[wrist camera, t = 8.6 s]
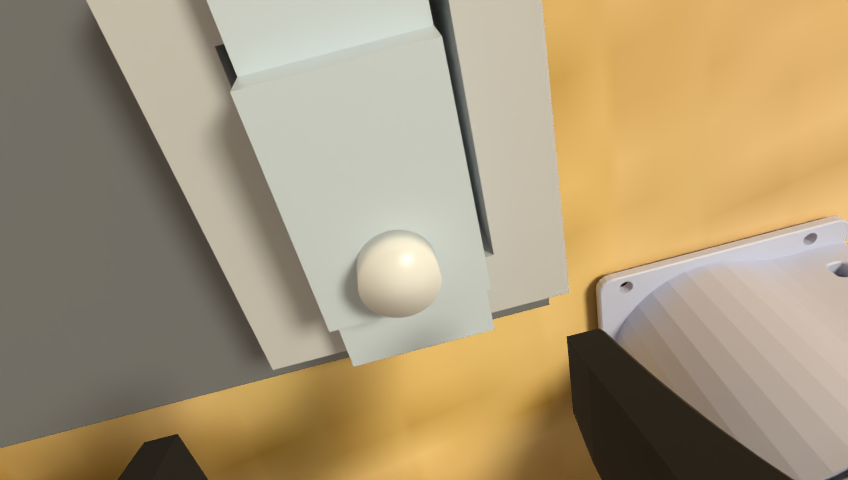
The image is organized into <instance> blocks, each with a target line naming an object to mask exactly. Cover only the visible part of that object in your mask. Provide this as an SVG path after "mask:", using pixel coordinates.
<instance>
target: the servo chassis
mask: <svg viewBox="0 0 848 480" xmlns="http://www.w3.org/2000/svg"><path fill="white" fill-rule="evenodd" d="M429 5H430V10H431V15H432V20H433V25H434V26H435V28H436V29H437V30H438V32H439V33H440V34H441V36H442V38H443V43H444V49H445V54H446V59H447V64H448V69H449V74H450V79H451V85H452V90H453V95H454V100H455V105H456V110H457V115H458V120H459V126H460V131H461V136H462V141H463V146H464V151H465V156H466V161H467V167H468V172H469V177H470V182H471V187H472V192H473V197H474V203H475V208H476V213H477V218H478V223H479V228H480V233H481V238H482V244H483V249H484V254H485V259H486V264H487V269H488V274H489V280H490V285H491V289H490V290H487V294H488V299H489V304H490V309H491V314H492V319H496V318H500V317H504V316H508V315H511V314H515V313H519V312H523V311H527V310H530V309H534V308H538V307H542V306H546V305H549V298H550V297H554V296H558V295H562V294H566V293H569V284H568V273H567V262H566V252H565V241H564V230H563V220H562V209H561V198H560V188H559V177H558V166H557V156H556V145H555V134H554V124H553V113H552V102H551V92H550V81H549V70H548V60H547V49H546V38H545V28H544V17H543V6H542V0H429ZM236 79H237V75H236V72H235V70H234V67H233V65H232V62H231V60H230V57H229V55H228V52H227V50H226V47H225V45H224V42H223V40H222V37H221V35H220V33H219V30H218V28H217V25H216V23H215V20H214V18H213V15H212V13H211V10H210V8H209V5H208V3H207V0H0V448H3V447H7V446H11V445H14V444H18V443H22V442H26V441H30V440H33V439H37V438H41V437H45V436H49V435H53V434H56V433H60V432H64V431H68V430H72V429H76V428H79V427H83V426H87V425H91V424H95V423H98V422H102V421H106V420H110V419H114V418H118V417H121V416H125V415H129V414H133V413H137V412H141V411H144V410H148V409H152V408H156V407H160V406H163V405H167V404H171V403H175V402H179V401H183V400H186V399H190V398H194V397H198V396H202V395H206V394H209V393H213V392H217V391H221V390H225V389H228V388H232V387H236V386H240V385H244V384H248V383H251V382H255V381H259V380H263V379H267V378H271V377H274V376H278V375H282V374H286V373H290V372H293V371H297V370H301V369H305V368H309V367H313V366H316V365H320V364H324V363H328V362H332V361H336V360H339V359H343V358H347V357H350V356H349V354H348V351H347V349H346V346H345V344H344V341H343V339H342V336H341V334H340V331H339V330H336V331H332V332H329V330H328V327H327V325H326V323H325V320H324V318H323V315H322V313H321V310H320V308H319V306H318V303H317V301H316V298H315V296H314V294H313V291H312V289H311V286H310V284H309V282H308V279H307V277H306V274H305V272H304V270H303V267H302V265H301V262H300V260H299V257H298V255H297V253H296V250H295V248H294V245H293V243H292V241H291V238H290V236H289V233H288V231H287V229H286V226H285V224H284V221H283V219H282V216H281V214H280V212H279V209H278V207H277V204H276V202H275V200H274V197H273V195H272V192H271V190H270V188H269V185H268V183H267V180H266V178H265V175H264V173H263V171H262V168H261V166H260V163H259V161H258V159H257V156H256V154H255V151H254V149H253V147H252V144H251V142H250V139H249V137H248V134H247V132H246V130H245V127H244V125H243V122H242V120H241V118H240V115H239V113H238V110H237V108H236V106H235V103H234V101H233V98H232V96H231V93H230V91H231V89H232V87H233V85H234V83H235V81H236Z"/></svg>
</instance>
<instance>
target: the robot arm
mask: <svg viewBox="0 0 848 480" xmlns="http://www.w3.org/2000/svg"><path fill="white" fill-rule="evenodd" d="M847 233H848V222H847V221H846V220H844V219H843V218H841V217H839V216H831V217H827V218H823V219H819V220H816V221H812V222H808V223H804V224H800V225H796V226H793V227H789V228H785V229H781V230H777V231H774V232H770V233H766V234H762V235H758V236H754V237H751V238H747V239H743V240H739V241H735V242H731V243H728V244H724V245H720V246H716V247H712V248H709V249H705V250H701V251H697V252H693V253H689V254H686V255H682V256H678V257H674V258H670V259H666V260H663V261H659V262H655V263H651V264H647V265H643V266H640V267H636V268H632V269H628V270H624V271H621V272H617V273H613V274H609V275H606V276H604V277H603V278H601V279H600V280H599V282H598V283H597V286H596V297H597V313H598V329H595V330H591V331H587V332H583V333H579V334H575V335H571V336H567V344H568V356H569V368H570V380H571V391H572V403H573V413H574V415H575V418H576V420H577V423H578V425H579V428H580V431H581V433H582V436H583V438H584V441H585V443H586V446H587V448H588V451H589V453H590V456H591V458H592V461H593V463H594V465H595V467H596V469H597V471H598V473H599V475H600V477H601V479H602V480H848V243H846V238H847ZM807 235H808V236H807ZM806 236H807V237H806ZM805 237H806V238H805ZM624 282H627V283H626V285H624V286H622V287H620V285H621V284H622V283H624ZM118 480H208V479H207V477H206V476H205V474H204V473H203V471H202V470H201V468H200V467H199V465H198V464H197V462H196V461H195V459H194V458H193V456H192V455H191V453H190V452H189V450H188V449H187V447H186V446H185V444H184V443H183V441H182V440H181V438H180V437H179V435H178V434H176V435H172V436H168V437H164V438H160V439H156V440H152V441H148V442H144V444H143V445H142V446H141V448H140V449H139V451H138V452H137V453H136V455H135V456H134V457H133V459H132V460H131V462H130V463H129V464H128V466H127V467H126V469H125V470H124V472H123V473H122V474H121V476H120V477H119V479H118Z"/></svg>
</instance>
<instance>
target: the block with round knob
mask: <svg viewBox="0 0 848 480" xmlns="http://www.w3.org/2000/svg"><path fill="white" fill-rule="evenodd" d="M207 3H208V5H209V8H210V10H211V13H212V15H213V18H214V20H215V23H216V25H217V28H218V30H219V33H220V35H221V37H222V40H223V42H224V45H225V47H226V50H227V52H228V55H229V57H230V60H231V62H232V65H233V67H234V70H235V72H236V75H237V79H236V81H235V83H234V85H233V87H232V89H231V91H230V93H231V96H232V98H233V101H234V103H235V106H236V108H237V110H238V113H239V115H240V118H241V120H242V122H243V125H244V127H245V130H246V132H247V134H248V137H249V139H250V142H251V144H252V147H253V149H254V151H255V154H256V156H257V159H258V161H259V163H260V166H261V168H262V171H263V173H264V175H265V178H266V180H267V183H268V185H269V188H270V190H271V192H272V195H273V197H274V200H275V202H276V204H277V207H278V209H279V212H280V214H281V216H282V219H283V221H284V224H285V226H286V229H287V231H288V233H289V236H290V238H291V241H292V243H293V245H294V248H295V250H296V253H297V255H298V257H299V260H300V262H301V265H302V267H303V270H304V272H305V274H306V277H307V279H308V282H309V284H310V286H311V289H312V291H313V294H314V296H315V298H316V301H317V303H318V306H319V308H320V310H321V313H322V315H323V318H324V320H325V323H326V325H327V327H328V330H329V332H332V331H336V330H339V331H340V334H341V336H342V339H343V341H344V344H345V346H346V349H347V351H348V354H349V356H350V359H351V361H352V364H353V366H354V367H355V366H358V365H362V364H366V363H370V362H373V361H377V360H381V359H385V358H389V357H392V356H396V355H400V354H404V353H407V352H411V351H415V350H419V349H422V348H426V347H430V346H434V345H437V344H441V343H445V342H449V341H453V340H456V339H460V338H464V337H468V336H471V335H475V334H479V333H483V332H486V331H490V330H494V324H493V319H492V314H491V309H490V304H489V299H488V294H487V290H490V289H491V285H490V280H489V274H488V269H487V264H486V259H485V254H484V249H483V244H482V238H481V233H480V228H479V223H478V218H477V213H476V208H475V203H474V197H473V192H472V187H471V182H470V177H469V172H468V167H467V161H466V156H465V151H464V146H463V141H462V136H461V131H460V126H459V120H458V115H457V110H456V105H455V100H454V95H453V90H452V85H451V79H450V74H449V69H448V64H447V59H446V54H445V49H444V43H443V38H442V36H441V34H440V33H439V32H438V30H437V29H436V28H435V26H434V25H433V20H432V15H431V10H430V5H429V0H207Z"/></svg>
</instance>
